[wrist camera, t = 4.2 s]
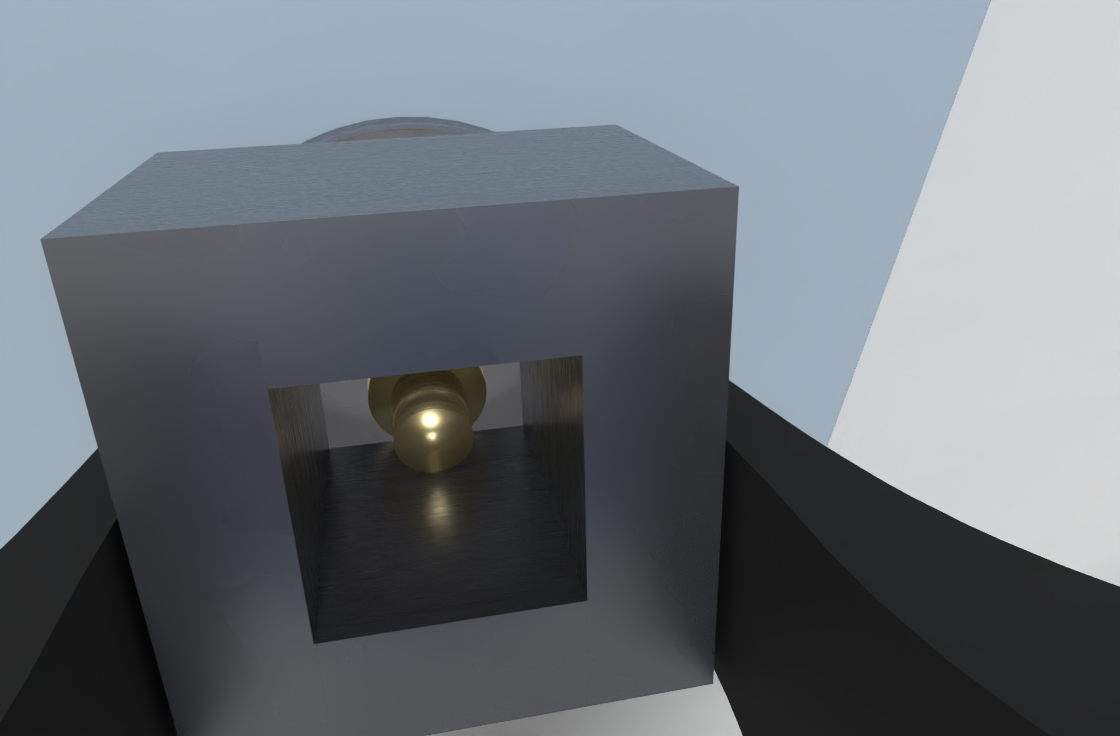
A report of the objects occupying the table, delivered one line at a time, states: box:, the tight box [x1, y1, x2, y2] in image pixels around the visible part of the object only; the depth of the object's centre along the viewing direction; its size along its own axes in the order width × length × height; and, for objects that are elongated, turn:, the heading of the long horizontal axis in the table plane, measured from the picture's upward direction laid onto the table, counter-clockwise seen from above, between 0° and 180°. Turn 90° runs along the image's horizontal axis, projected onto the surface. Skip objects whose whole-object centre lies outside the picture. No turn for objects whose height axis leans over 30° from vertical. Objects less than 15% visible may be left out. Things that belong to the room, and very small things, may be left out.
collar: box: [40, 125, 739, 736], centre depth 10 cm, size 6×6×4 cm
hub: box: [301, 117, 523, 472], centre depth 12 cm, size 6×6×3 cm
